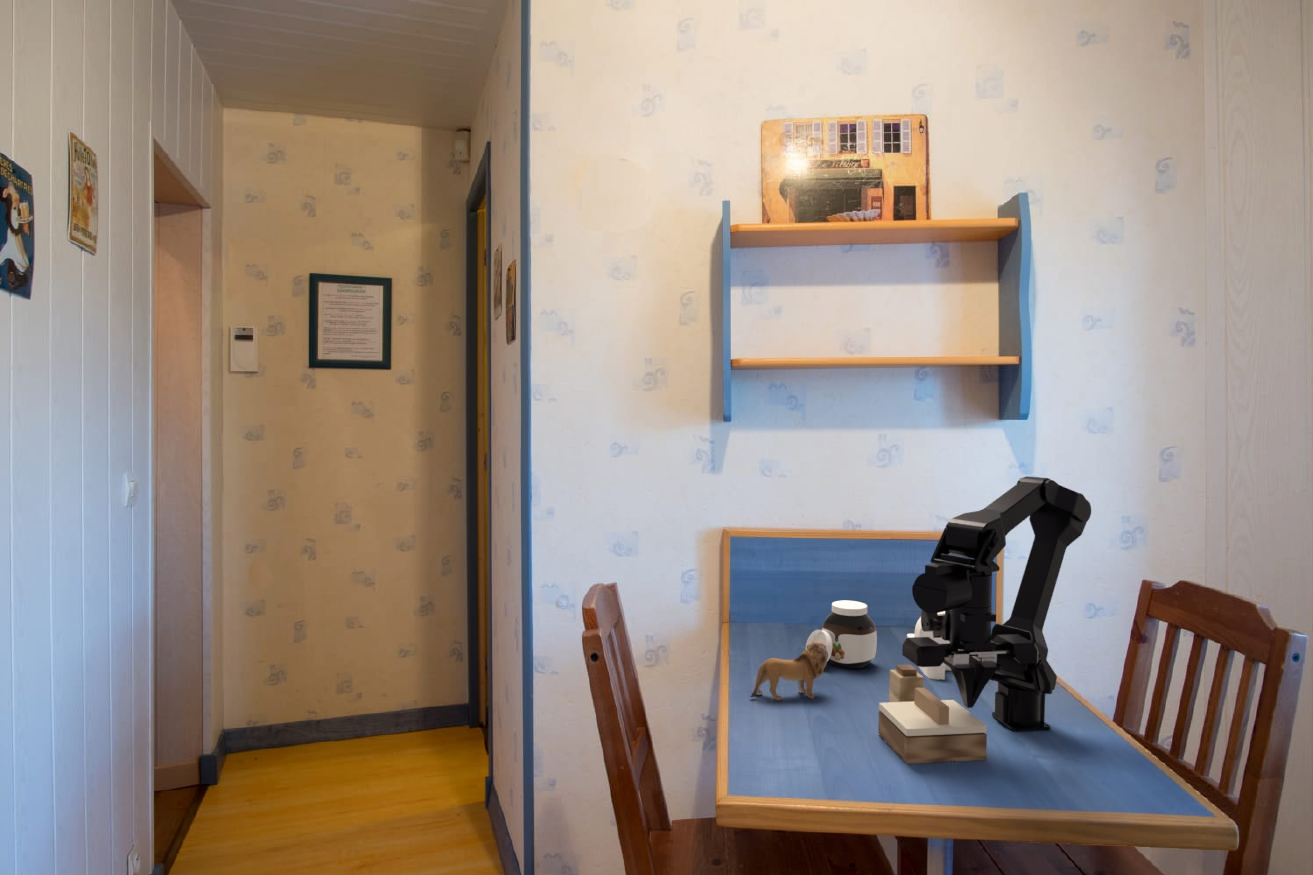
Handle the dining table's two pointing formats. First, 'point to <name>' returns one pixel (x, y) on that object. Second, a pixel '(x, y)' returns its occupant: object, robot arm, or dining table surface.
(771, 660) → the lion figurine
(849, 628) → the spread jar
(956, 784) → the dining table surface
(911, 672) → the wooden block
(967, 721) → the lid
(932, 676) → the u-slot stand
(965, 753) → the wooden box
